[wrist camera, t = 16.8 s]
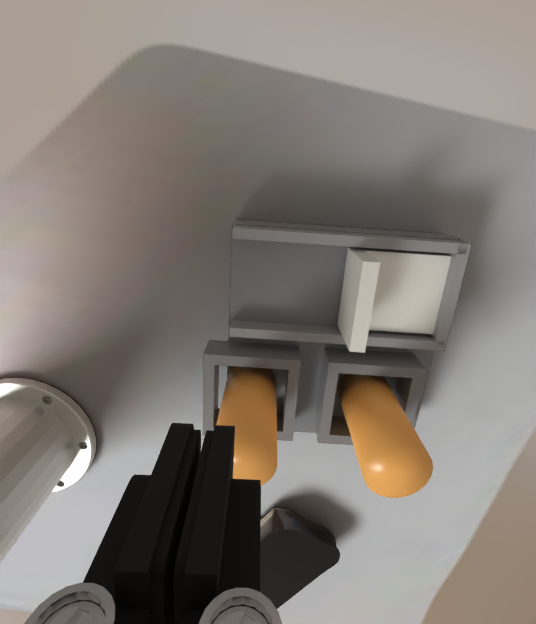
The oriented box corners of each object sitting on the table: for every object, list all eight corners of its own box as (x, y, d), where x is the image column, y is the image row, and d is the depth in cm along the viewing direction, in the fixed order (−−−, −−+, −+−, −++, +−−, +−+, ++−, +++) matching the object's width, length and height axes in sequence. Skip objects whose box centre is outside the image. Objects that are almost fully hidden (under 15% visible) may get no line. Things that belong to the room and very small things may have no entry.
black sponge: (282, 489, 38) (282, 521, 34) (342, 529, 39) (348, 563, 36) (190, 573, 42) (182, 609, 39) (248, 606, 44) (245, 642, 40)
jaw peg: (334, 408, 30) (357, 495, 22) (341, 364, 29) (369, 439, 20) (382, 411, 30) (424, 500, 22) (391, 369, 29) (439, 445, 21)
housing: (213, 405, 34) (183, 516, 23) (217, 218, 28) (179, 241, 17) (400, 417, 34) (463, 534, 23) (441, 233, 28) (552, 267, 17)
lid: (337, 324, 28) (349, 351, 23) (347, 247, 26) (363, 261, 21) (429, 330, 28) (458, 358, 23) (446, 254, 26) (482, 269, 21)
